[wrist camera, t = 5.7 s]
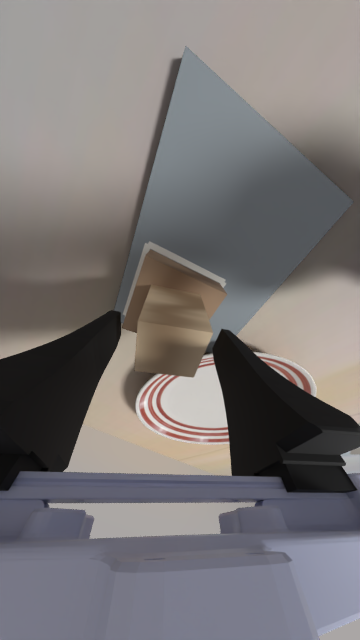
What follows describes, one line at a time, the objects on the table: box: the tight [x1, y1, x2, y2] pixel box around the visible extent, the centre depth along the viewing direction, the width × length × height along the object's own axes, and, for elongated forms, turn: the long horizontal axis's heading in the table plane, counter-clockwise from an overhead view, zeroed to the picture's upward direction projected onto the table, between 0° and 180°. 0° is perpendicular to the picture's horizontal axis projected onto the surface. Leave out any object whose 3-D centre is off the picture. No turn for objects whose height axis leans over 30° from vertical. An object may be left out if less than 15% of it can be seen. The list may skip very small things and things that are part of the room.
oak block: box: [134, 285, 213, 378], centre depth 11 cm, size 4×4×5 cm
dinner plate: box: [135, 352, 316, 444], centre depth 25 cm, size 28×27×3 cm
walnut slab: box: [122, 249, 227, 333], centre depth 14 cm, size 7×7×2 cm
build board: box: [114, 46, 354, 353], centre depth 14 cm, size 14×18×1 cm
